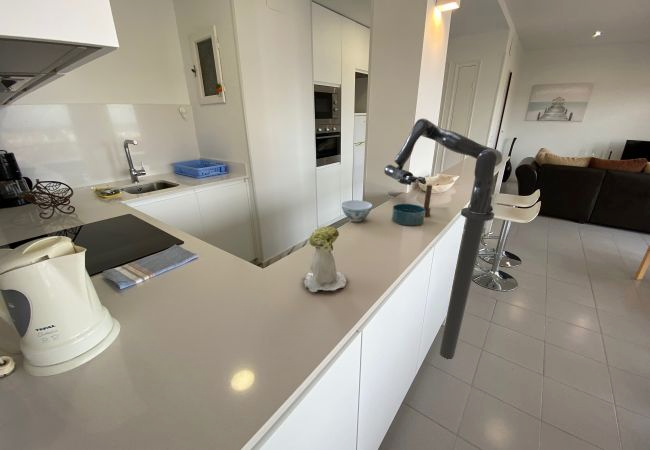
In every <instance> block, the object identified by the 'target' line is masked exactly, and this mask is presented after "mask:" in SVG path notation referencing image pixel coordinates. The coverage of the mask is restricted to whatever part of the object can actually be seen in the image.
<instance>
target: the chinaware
mask: <svg viewBox="0 0 650 450" xmlns="http://www.w3.org/2000/svg"><path fill="white" fill-rule="evenodd" d="M340 205H341V210H342V212H343V214H344V215H345V216H346V217H347V218H348V220H349V221H351V222H357V223H358V222H362V221H363V219H365V218H366V217H368V215H369V214H370V212H371V211H372V208H373V204H372V203H371V202H369V201H365V200H356V199H354V200H353V199H352V200H346V201H342V202H341V204H340Z"/></svg>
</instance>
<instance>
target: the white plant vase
mask: <svg viewBox="0 0 650 450" xmlns="http://www.w3.org/2000/svg"><path fill="white" fill-rule="evenodd" d="M339 232H340V231H339V230H338V228H336V227H335V226H334V227H333V226H321V227H319V228H317V229H314V231H312V233H311V234H310V236H309V240H308V241H309V245H310V246H312V247H314V248H315V249H314V251H313V254H312V259H311V260H310V264H309V270H310V271H311V272H307V273H306V274H305V279H304V280H303V282H304V287H305V288H308V291H310V292H312V293H316V292H318V291H321V290H322V291H336V290H338V289H340V288H345V286H346V284H347V278H346V277H345V275H344V274H343V273H341V272H340V271H338V270H337V266H336V261H335V258H336V257H334V255H333V253H332V251H334V246H333V245H334V243H335V242H336V240H337V239H338V238H339V235H340V233H339Z"/></svg>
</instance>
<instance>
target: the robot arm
mask: <svg viewBox="0 0 650 450" xmlns="http://www.w3.org/2000/svg"><path fill="white" fill-rule="evenodd" d="M421 137H423V138H426V139H430V140H432V141H434V142H437V143H438V144H439V145H440V146H441V147H443V148H445V149H447V150H449V151H451V152H453V153H455V154H460V155H463V156H468V157H471V158H474V159H476V161H475V166H474V172H473V173H474V175H473V176H474V179H473V184H472V185H473V186H472V190H471V195H470V200H469V203H468V208H469V209H468V211H469V212H470V213H473V214H478V215H485V214H488V213H489V212H493V211H494V208H493V206H492V205H491V204H492V200H493V196H492V194H493V189H494V186H495V181H496V176H495V168H496V167H497V166H498V165H500V164H501V163H502V162H503V154H502V152H501V151H500V150H498V149H496V148H492V147H489V146H486V145H483V144H481V143H478V142H477V141H475V140H473V139H470V138H468V137H467V136H465V135H462V134H460V133H458V132H456V131H453V130H448V129H443V128H442V127H439V126H438V125H436V124H434V123H433V122H432V121H430V120H428V119H427V118H424V117H423V118H419V119H418V120H416V122H415V123H414V125H413V126H412V129H411V131H410V133H409V135H408V137H407V138H406V140H405V142H404V144H403V146H402V147H401V149H400V150H399V152H398V153H397V155H396V156H395V157H394V160H393V161H394V163H395V164H396V165H397V166H394V165H392V164H387V165H386V166H385V167H384V170H383V172H384V174H385V175H386V176H387V177H389V178H392V179H393V180H395V181H397V182H398V183H399V184H402V185H407V186H411V185H412V184H422V185H426V184H427V180H426V177H423V176H420V175H419V176H415V175H414V174H413V173H412V172H410V171H408V170H405V169H404V166H405V165H406V163H407V161H408V160H409V159H410V157H411V155H412V153H413V151H414V148H415V145H416V143H417V142H418V140H419V139H420V138H421Z"/></svg>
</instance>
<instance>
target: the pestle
mask: <svg viewBox="0 0 650 450" xmlns="http://www.w3.org/2000/svg"><path fill="white" fill-rule="evenodd" d="M425 188H426V189H425V196H424V202H423V206H422V207H423V208H425V210H426V211H425V218H429V217H430V216H431V211H432V210H431V209H432V208H431V207H430V203H431V197H432V191H433V185H432V184H427V185H426V187H425Z"/></svg>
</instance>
